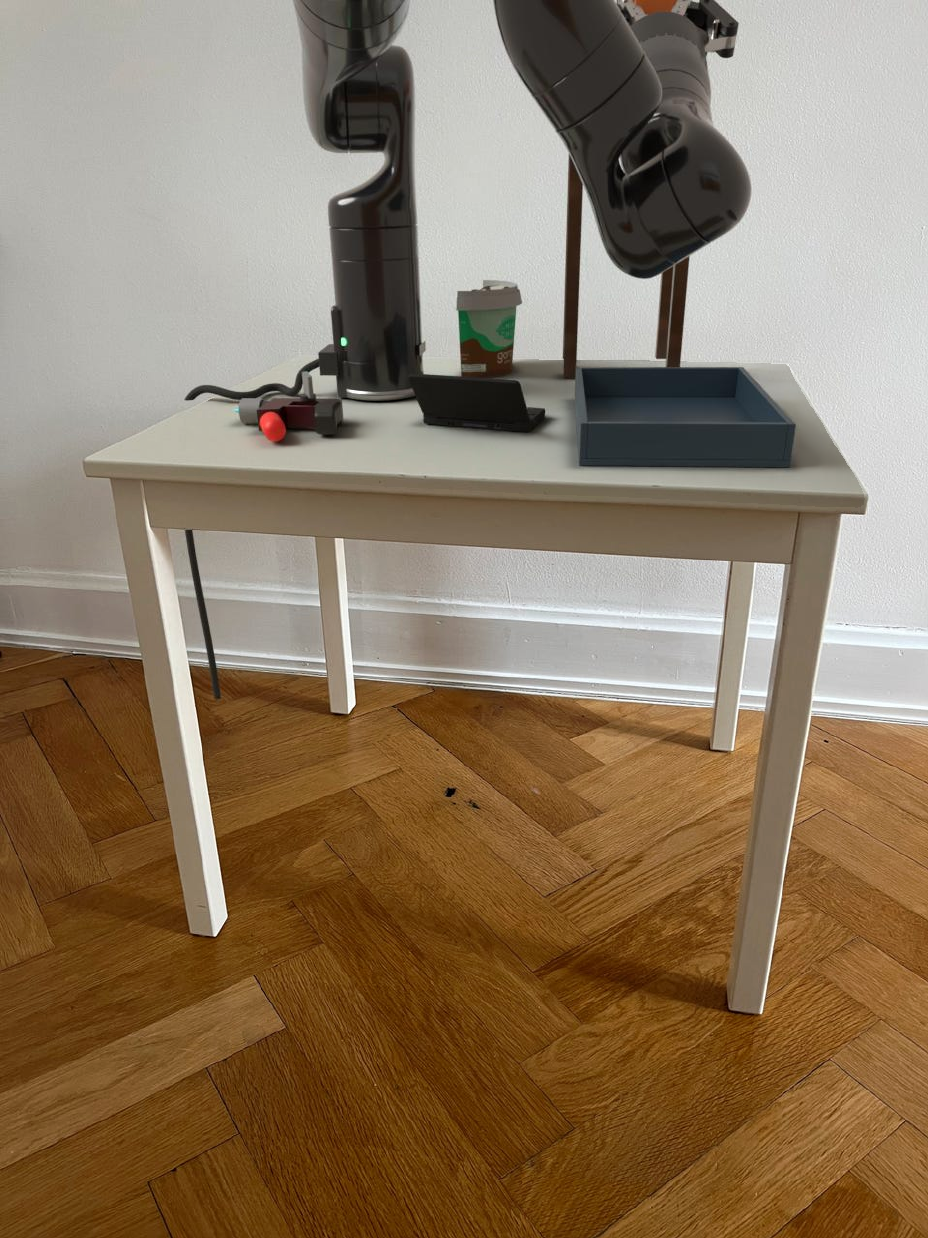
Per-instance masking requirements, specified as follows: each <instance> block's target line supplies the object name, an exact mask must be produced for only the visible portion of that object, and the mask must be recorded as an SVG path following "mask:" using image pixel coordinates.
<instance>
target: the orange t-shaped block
mask: <svg viewBox="0 0 928 1238" xmlns="http://www.w3.org/2000/svg"><path fill="white" fill-rule="evenodd" d="M674 2H677V0H634V3H635V4H636V3H639V4H640V6H641V7H642V9H643V11H644V12H645V14H648V15H649V14H652V13H655V12H663V11H667V12H671V10H672V7H673V4H674Z"/></svg>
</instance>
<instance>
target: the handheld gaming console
mask: <svg viewBox="0 0 928 1238" xmlns="http://www.w3.org/2000/svg"><path fill="white" fill-rule="evenodd" d="M409 382H410V384H411V386H412V389H413V391H414V394H415V396H414V397H415V398H416V402H417V403H418V407H419V408H420V410H421V413H422V417H423V418H422V420H423V424H425V425H437V426H448V427H449V426H450V427H462V428H463V427H474V428H475V427H476V428H484V429H487V430H495V431H496V430H498V431H508V432H509V431H510V432H521V433H529V432H530V431H532V429H533V428H535V427H536V426H537V425H538V424H539V423H541V422H542V421H543V420H544V419H545V418H546V408H544V407H531V406H527V403H526V400H525V396H524V392H523V388H522V384H521V382H520V381H519V380H516V379H509V378H508V379H507V378H506V379H505V378H494V377H488V378H477V377H461V375H459V376H458V375H446V374H445V375H444V374H428V373H424V374H410V375H409Z"/></svg>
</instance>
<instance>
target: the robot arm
mask: <svg viewBox="0 0 928 1238" xmlns="http://www.w3.org/2000/svg"><path fill="white" fill-rule="evenodd" d="M292 3H293V7H294V13H295V18H296V23H297V28H298V32H299V39H300V43H301V44H300V46H301V64H302V67H301V68H302V69H301V70H302V94H303V95H302V97H303V98H302V99H303V104H304V105H303V107H304V113H305V118H306V122H307V126H308V130H309V132H310V134H311V137H312V138H313V140H314V142H315V143H316V144H317V146H318V147H319V148H321V149H322V150H324V151H325V152H329V153H333V154H334V153H335V154H378V153H380V154H381V153H382V154H383V156H384V157H383V158H384V160H383V164H382V166H381V167H380V169H378V171H376V173H375V174H373V175H372V176H371V177H370V178H369V179H367V180H366V181H364V182H363V183H361V184H359V185H357V186H355V187H353V188H350V189H348V190H345V191H343V192H340V193H338V194H335V195H334V196H332V197H331V198H330V199H329V201H328V202H327V203H328V204H327V220H328V221H327V222H328V226H329V231H328V232H329V241H330V242H329V243H330V252H331V253H330V254H331V267H332V281H333V290H334V291H333V292H334V293H333V294H334V305H332V306H331V308H330V319H331V320H330V321H331V332H332V333H331V334H332V343H329V344H327V345H326V346H325V347H323V348H322V349H320V350H319V351H318V352H317V355H318V358H316V359H314V360H312V361H310V362H308V363H307V364H305V365H304V366H303V367H301V368H300V369H299V370H298V372H297V374H296V376H295V381H294V385H293V386H292V387H289V386H287V385H286V384H283V383H278V382H273V383H272V382H271V383H267V384H262V385H261V386H259V387H258V388H256V389H254V390H249V391H236V390H231V389H227V388H224V387H222V386H221V387H220V386H217V385H213V384H201V385H199V386H196V387H194V388H193V389H191V390H190V391H189V392H188V393H187V395H186V396H185V398H184V401H194V400H196V398H197V397H199V396H201V395H203V394H213V395H216V396H220V397H222V398H223V397H224V398H225V399H226V398H227V399H231V400H235V401H240V400H241V399H242V398H261V397H262V396H264V395H265V394H267V393H271V392H280V393H282V394H283V395H286V396H289V397H294V396H296V395H298V394H299V393H300V392H301V390H302V389H303V380H302V372H306V371H307V372H308V373H309V374H310V373H311V372H312V371H314V370H316V369H318V368H319V375H320V376H327V377H332V376H333V377H334V376H335V380H336V392H337V398H346V399H347V398H348V399H352V400H359V401H371V402H372V401H373V402H374V401H377V402H378V401H379V402H380V401H396V400H403V399H408V398H413V397H416V396H415V394H414V391H413V389H412V386H411V384H410V382H409V375H410V374H425V371H424V357H423V354H424V353H425V352H426V351H427V349H426V346H427V345H426V340H424V341H423V329H422V308H421V307H422V305H421V303H422V302H421V277H420V251H419V250H420V249H419V228H418V227H419V226H418V209H417V208H418V207H417V189H416V188H417V187H416V186H417V185H416V157H415V156H416V84H415V72H414V66H413V63H412V60H411V57H410V55H409V53H408V51H407V50H406V49H405V48H404V47H403V46H400V45H396V44H395V45H394V43H395V41H396V40H397V38H398V37H399V35H400V34H401V33H402V30H403V28H404V25H405V24H406V21H407V18H408V15H409V10H410V4H411V0H292ZM492 3H493V4H492V5H493V9H494V10H493V11H494V15H495V18H496V24H497V28H498V31H499V35H500V39H501V41H502V45H503V47H504V50H505V52H506V55H507V57H508V59H509V61H510V63H511V66H512V68H513V70H514V71H515V73H516V74H517V77H518V78H519V80H520V81H521V83H522V84H523V86H524V87H525V89H526V90H527V92H528V93H529V94H530V96H531V98H532V99H533V101H534V102H535V104H536V106H538V108H539V110H540V111H541V112H542V114H543V115H544V117H545V118H546V120H547V121H548V123H549V124H550V126H551V127H552V129H554V131H555V133H556V135H558V137H559V139H560V140H561V142H562V144H563V145H564V147H565V148H566V150H567V153H568V155H569V154H570V156H571V158H572V161H573V163H574V165H575V167H576V169H577V172H578V174H579V176H580V179H581V181H582V184H583V190H584V191H585V195H586V197H587V200H588V202H589V205H590V208H591V211H592V215H593V219H594V221H595V224H596V228H597V231H598V234H599V237H600V240H601V243H602V245H603V248H604V250H605V253H606V255H607V257H608V258H609V260H610V262H612V264H613V265H614V266H615V267H616V268H617V269H618V270H620V271H621V272H623V273H624V274H626V275H628V276H630V277H632V278H635V279H639V280H648V279H649V280H650V279H652V278H654V277H657V276H659V275H661V273H663V272H664V271H666V270H668V269H669V268H671V267H672V266H674V265H676V264H677V263H679V262H681V261H682V260H684V259H685V258H687V257H689V256H692V255H693V254H695V253H697V252H698V251H700V250H702V249H703V248H705V247H706V246H708V245H709V244H711V243H713V242H715V241H717V240H718V239H720V238H721V237H723V236H725V235H726V234H728V233H729V232H731V231H732V230H733V229H734V228H735V227H737V225H738V224H740V223H741V221H742V220H743V218H744V217H745V215H746V213H747V211H748V210H749V209H748V208H749V206H750V203H751V199H752V190H753V189H752V188H753V187H752V181H751V175H750V173H749V170H748V168H747V166H746V164H745V162H744V160H743V158H742V157H741V155H740V154H739V152H738V151H737V150H736V148H735V147H734V146H733V145H732V143H731V142H730V141H729V140H728V139H727V138H726V136H724V135H723V133H722V132H720V131H719V130H718V129H717V128H716V127H715V124H714V121H713V116H712V110H711V102H712V87H711V78H710V74H709V67H708V61H707V56H708V53H716V54H717V55H718V56H719V57H720V58H722V59H729V58H732V57H733V56H734V52H735V48H736V47H735V46H736V43H737V42H736V41H737V38H738V37H737V36H738V30H739V24H740V23H739V21H737V20H736V19H735V17H734V16H732V15H731V14H730V13H729V12H728V11H727V10H726V9H724V7H722V6H721V4H720V3H718V2H717V1H716V0H698V2H697V1H693V0H677V2H674V4H673V7H672V10H671V12H667V11H663V12H655V13H652V14H649V15H648V14H645V12H644V11H643V9H642V7H641V6H640V4H639V3H636V4H635V3H634V0H616V1H615V0H492ZM689 258H690V257H689ZM193 531H194V530H193V529H192V530H185V529H184V534H185V540H186V548H187V553H188V559H189V565H190V571H191V577H192V583H193V587H194V592H195V597H196V603H197V609H198V613H199V617H200V623H201V628H202V629H201V630H202V634H203V638H204V639H203V640H204V644H205V650H206V655H207V661H208V666H209V673H210V679H211V685H212V686H211V687H212V692H213V699H214V700H217V701H218V700H220V699H221V698H222V695H221V687H220V681H219V675H218V674H219V673H218V668H217V661H216V656H215V650H214V644H213V638H212V633H211V628H210V623H209V617H208V612H207V608H206V602H205V597H204V591H203V587H202V581H201V575H200V570H199V564H198V558H197V552H196V545H195V539H194V538H195V537H194V532H193Z"/></svg>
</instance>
